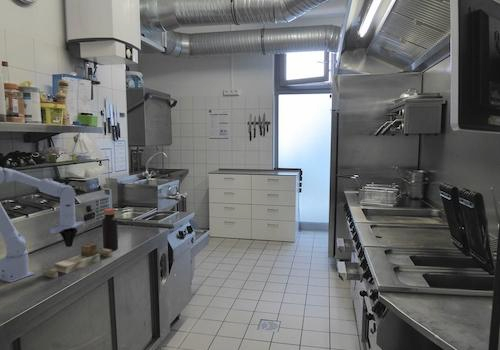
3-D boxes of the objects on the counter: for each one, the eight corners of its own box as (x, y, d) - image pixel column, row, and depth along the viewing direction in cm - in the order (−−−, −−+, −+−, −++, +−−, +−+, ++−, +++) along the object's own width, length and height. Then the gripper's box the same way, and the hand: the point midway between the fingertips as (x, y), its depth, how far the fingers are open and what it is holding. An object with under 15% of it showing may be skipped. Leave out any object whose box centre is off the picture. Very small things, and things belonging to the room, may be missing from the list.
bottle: (113, 251, 170) (111, 211, 168) (100, 250, 172) (98, 210, 170) (120, 247, 177) (119, 208, 175) (108, 246, 178) (107, 207, 176)
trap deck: (54, 278, 138) (54, 270, 138) (42, 275, 141) (42, 267, 141) (112, 256, 164) (112, 249, 164) (101, 253, 167) (101, 247, 167)
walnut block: (88, 257, 154) (88, 247, 153) (81, 255, 156) (80, 245, 155) (96, 254, 158) (96, 244, 157) (89, 252, 160) (89, 242, 159)
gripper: (58, 219, 139) (59, 252, 140) (89, 212, 152) (90, 243, 153) (46, 217, 142) (47, 249, 143) (77, 210, 155) (78, 240, 157)
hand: (68, 246), depth 149 cm, fingers closed
